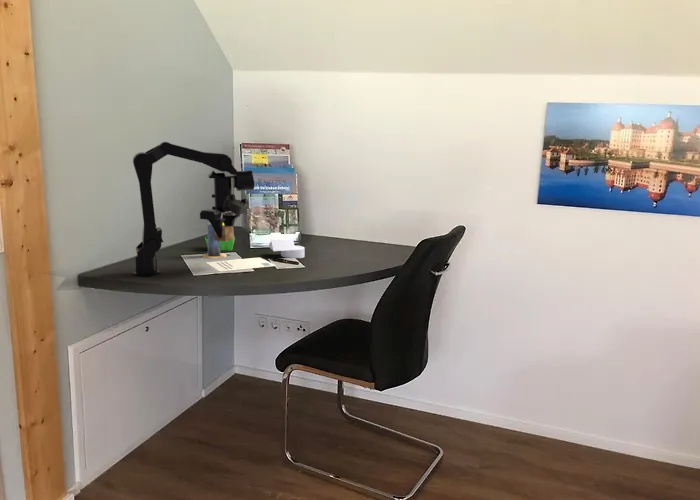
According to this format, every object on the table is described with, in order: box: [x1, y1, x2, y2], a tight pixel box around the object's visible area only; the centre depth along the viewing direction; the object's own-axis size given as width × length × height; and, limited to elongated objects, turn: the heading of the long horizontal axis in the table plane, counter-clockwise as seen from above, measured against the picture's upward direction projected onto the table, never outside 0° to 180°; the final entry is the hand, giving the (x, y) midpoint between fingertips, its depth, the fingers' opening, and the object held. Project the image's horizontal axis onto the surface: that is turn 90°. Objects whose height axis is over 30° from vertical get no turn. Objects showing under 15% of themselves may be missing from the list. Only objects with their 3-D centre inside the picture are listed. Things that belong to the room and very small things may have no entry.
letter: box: [205, 257, 277, 272], centre depth 224 cm, size 21×15×1 cm
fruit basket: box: [204, 222, 236, 251], centre depth 247 cm, size 11×9×11 cm
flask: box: [206, 222, 221, 257], centre depth 234 cm, size 5×5×12 cm
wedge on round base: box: [268, 238, 306, 259], centre depth 239 cm, size 9×7×13 cm
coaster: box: [201, 252, 227, 260], centre depth 235 cm, size 9×9×1 cm
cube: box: [215, 225, 235, 242], centre depth 214 cm, size 4×4×4 cm
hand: (224, 236), depth 214 cm, fingers closed on cube, 4 cm apart
